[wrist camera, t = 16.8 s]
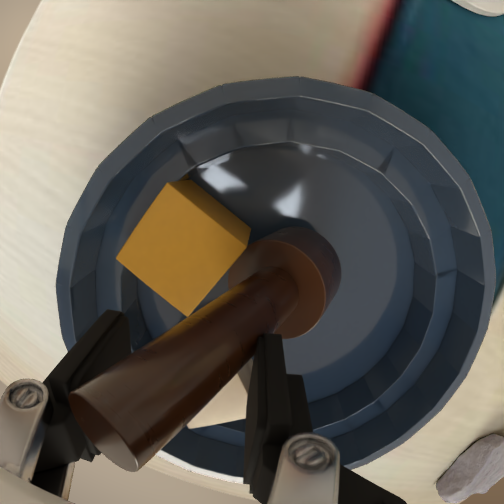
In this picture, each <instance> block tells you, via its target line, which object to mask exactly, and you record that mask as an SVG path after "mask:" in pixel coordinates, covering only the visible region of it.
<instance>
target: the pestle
mask: <svg viewBox="0 0 504 504" xmlns="http://www.w3.org/2000/svg"><path fill="white" fill-rule="evenodd" d="M340 282H341V265H340V261H339V258H338V255H337V253H336V251H335V250H334V248H333V246H332V245H331V244H330V243H329V242H328V241H327V240H326V239H325V238H324V237H323V236H321V235H320V234H319V233H317V232H315V231H313V230H310V229H308V228H303V227H287V228H283V229H280V230H278V231H276V232H274V233H272V234H270V235H268V236H266V237H264V238H261V239H259V240H257V241H255V242H253V243H251V244H249V245H247V248H246V249H245V250H244V252H243V253H242V254H241V255H240V256H239V257H238V259H237V260H236V261H235V262H234V263H233V264H232V266H231V267H230V271H229V276H228V288H229V290H228V291H227V292H225V293H224V294H222V295H221V296H219V297H218V298H216V299H215V300H213V301H212V302H210V303H209V304H207V305H206V306H204V307H203V308H201V309H200V310H198V311H196V312H195V313H193V314H192V315H190V316H189V317H187V318H186V319H184V320H183V321H181V322H180V323H178V324H177V325H175V326H173V327H172V328H170V329H169V330H167V331H166V332H164V333H163V334H161V335H160V336H158V337H156V338H155V339H153V340H152V341H150V342H149V343H147V344H146V345H144V346H142V347H141V348H139V349H138V350H136V351H135V352H133V353H132V354H130V355H128V356H127V357H125V358H124V359H122V360H121V361H119V362H117V363H116V364H114V365H113V366H111V367H110V368H108V369H106V370H105V371H103V372H102V373H100V374H98V375H97V376H95V377H94V378H92V379H90V380H89V381H87V382H86V383H84V384H82V385H81V386H79V387H78V388H76V389H74V390H73V391H71V392H70V394H69V396H68V400H69V404H70V408H71V410H72V413H73V415H74V417H75V419H76V421H77V422H78V424H79V426H80V427H81V429H82V430H83V432H84V433H85V434H86V436H87V437H88V438H89V439H90V441H91V442H92V443H93V444H94V445H95V446H96V447H97V449H98V450H99V451H100V452H101V453H103V454H104V455H105V456H106V457H107V458H108V459H109V460H111V461H112V462H113V463H115V464H116V465H118V466H119V467H121V468H123V469H125V470H127V471H130V472H136V471H138V470H139V469H140V468H141V467H142V466H144V465H145V464H146V463H147V462H148V461H149V460H150V459H151V458H152V457H153V456H154V455H156V454H157V453H158V452H159V451H160V450H161V449H162V448H163V447H164V446H165V445H166V444H167V443H168V442H169V441H170V440H171V439H173V438H174V437H175V436H176V435H177V434H178V433H179V432H180V431H181V430H182V429H183V428H184V427H185V426H186V425H187V424H188V423H189V422H190V421H191V420H192V419H193V418H194V417H195V416H196V415H197V414H198V413H199V412H200V411H201V410H202V409H203V408H204V407H205V406H206V405H207V404H208V403H209V402H210V401H211V400H212V399H213V398H214V397H215V396H216V395H217V394H218V393H219V392H220V391H221V390H222V389H223V388H224V387H225V386H226V384H227V383H228V382H229V381H230V380H231V379H232V378H233V377H234V376H235V375H236V374H237V373H238V372H239V371H240V370H241V369H242V368H243V366H244V365H245V364H246V363H247V362H248V361H249V360H250V359H251V358H252V357H253V356H254V355H255V352H256V346H257V339H258V337H263V336H264V333H272V334H281V335H282V339H291V338H296V337H299V336H302V335H304V334H306V333H307V332H309V331H310V330H312V329H313V328H314V327H315V326H316V325H317V323H318V322H319V321H320V319H321V317H322V316H323V314H324V313H325V311H326V310H327V308H328V306H329V305H330V303H331V301H332V300H333V298H334V297H335V295H336V293H337V291H338V289H339V286H340Z"/></svg>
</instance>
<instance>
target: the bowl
mask: <svg viewBox="0 0 504 504" xmlns="http://www.w3.org/2000/svg"><path fill="white" fill-rule="evenodd" d="M469 177H470V176H469V175H468V173H467V172H466V171H465V170H464V168H463V167H462V166H461V164H460V163H459V162H458V161H457V159H456V158H455V157H454V156H453V154H452V153H451V152H450V151H449V150H448V148H447V147H446V146H445V145H444V144H443V142H442V141H441V140H440V139H439V138H438V137H437V136H436V134H435V133H434V132H433V131H432V130H430V128H428V127H427V126H425V125H424V124H422V123H421V122H419V121H418V120H416V119H415V118H413V117H412V116H410V115H409V114H407V113H405V112H404V111H402V110H401V109H399V108H397V107H396V106H394V105H392V104H391V103H389V102H387V101H386V100H384V99H382V98H381V97H379V96H377V95H375V94H372V93H371V92H367V91H364V90H360V89H356V88H352V87H348V86H344V85H340V84H336V83H331V82H327V81H322V80H317V79H312V78H307V77H299V76H293V77H279V78H267V79H258V80H249V81H240V82H233V83H226V84H222V86H221V85H219V86H216V87H214V88H211V89H209V90H207V91H204V92H202V93H200V94H197V95H195V96H193V97H191V98H188V99H186V100H184V101H182V102H180V103H178V104H175V105H173V106H171V107H169V108H167V109H165V110H163V111H161V112H159V113H157V114H155V115H153V116H152V118H151V117H150V118H148V119H147V120H146V121H145V122H144V123H143V124H142V125H140V126H139V127H138V128H137V129H136V130H135V131H134V132H133V133H132V134H130V135H129V136H128V137H127V138H126V139H125V140H124V141H123V142H122V143H121V144H120V145H119V146H118V147H117V148H116V149H115V150H114V151H112V152H111V153H110V154H109V155H108V156H107V157H106V158H105V159H104V160H103V161H102V162H101V163H100V164H99V166H98V168H97V169H96V170H95V172H94V174H93V175H92V177H91V179H90V181H89V182H88V184H87V186H86V188H85V190H84V191H83V193H82V195H81V197H80V199H79V201H78V203H77V205H76V206H75V208H74V210H73V212H72V214H71V216H70V218H69V220H68V222H67V226H66V228H65V233H64V238H63V243H62V248H61V254H60V259H59V265H58V271H57V278H56V294H57V303H58V312H59V319H60V327H61V333H62V338H63V341H64V343H65V346H66V348H67V351H68V352H69V351H70V349H71V348H72V347H73V346H74V345H75V344H76V343H77V342H78V341H79V340H80V339H81V338H82V336H83V335H84V334H85V333H86V332H87V331H88V330H89V328H90V327H91V326H92V325H93V324H94V323H95V322H96V321H97V319H98V318H99V317H100V316H101V315H102V314H103V313H104V312H105V311H106V310H107V309H110V310H115V311H121V312H123V313H124V315H125V317H128V318H129V327H130V342H131V354H132V353H133V352H135V351H136V350H138V349H139V348H141V347H142V346H144V345H146V344H147V343H149V342H150V341H152V340H153V339H155V338H156V337H158V336H160V335H161V334H163V333H164V332H166V331H167V330H169V329H170V328H172V327H173V326H175V325H177V324H178V323H180V322H181V321H183V320H184V319H186V318H187V316H186V315H184V314H183V313H182V312H180V311H179V310H178V309H177V308H175V307H174V306H173V305H171V304H170V303H169V302H168V301H166V300H165V299H164V298H163V297H161V296H160V295H159V294H158V293H156V292H155V291H154V290H153V289H151V288H150V287H149V286H148V285H146V284H145V283H144V282H143V281H142V280H140V279H139V278H138V277H137V276H136V275H134V274H133V273H132V272H131V271H130V270H128V269H127V268H126V267H125V266H124V265H123V264H121V263H120V262H119V261H118V260H117V259H116V257H117V255H118V253H119V252H120V250H121V249H122V247H123V246H124V244H125V242H126V241H127V239H128V238H129V236H130V235H131V233H132V232H133V230H134V229H135V227H136V226H137V224H138V223H139V221H140V220H141V219H142V217H143V216H144V214H145V213H146V211H147V210H148V208H149V207H150V206H151V204H152V203H153V201H154V200H155V198H156V197H157V196H158V194H159V193H160V192H161V190H162V189H163V187H164V186H165V185H166V183H168V182H175V181H183V180H192V181H193V182H195V183H196V184H197V185H198V186H200V187H201V188H202V189H203V190H205V191H206V192H207V193H208V194H209V195H211V196H212V197H213V198H214V199H216V200H217V201H218V202H219V203H221V204H222V205H223V206H224V207H226V208H227V209H228V210H229V211H230V212H232V213H233V214H234V215H235V216H237V217H238V218H239V219H240V220H242V221H243V222H244V223H245V224H246V225H248V226H249V227H250V228H251V232H250V236H249V240H248V244H247V245H249V244H251V243H253V242H255V241H257V240H259V239H261V238H264V237H266V236H268V235H270V234H272V233H274V232H276V231H278V230H280V229H283V228H287V227H303V228H308V229H310V230H313V231H315V232H317V233H319V234H320V235H321V236H323V237H324V238H325V239H326V240H327V241H328V242H329V243H330V244H331V245H332V246H333V248H334V250H335V251H336V253H337V255H338V258H339V261H340V265H341V282H340V286H339V289H338V291H337V293H336V295H335V297H334V298H333V300H332V301H331V303H330V305H329V306H328V308H327V310H326V311H325V313H324V314H323V316H322V317H321V319H320V321H319V322H318V323H317V325H316V326H315V327H314V328H313V329H312V330H310V331H309V332H307V333H306V334H304V335H302V336H299V337H296V338H291V339H282V342H283V350H284V358H285V366H286V373H287V374H297V375H302V377H303V380H304V386H305V391H306V396H307V402H308V407H309V412H310V418H311V423H312V429H313V432H314V433H318V434H321V435H324V436H325V437H327V438H329V439H330V440H332V441H333V442H334V443H335V444H336V446H337V447H338V449H339V453H340V464H341V465H343V466H344V467H346V468H348V469H349V470H352V469H355V468H358V467H360V466H363V465H365V464H368V463H370V462H372V461H373V460H375V459H377V458H379V457H381V456H383V455H384V454H386V453H388V452H390V451H391V450H393V449H395V448H396V447H398V446H400V445H401V444H403V443H404V442H405V441H407V440H408V439H409V438H410V437H412V436H413V435H414V434H415V433H416V432H418V431H419V430H420V429H421V428H422V427H423V426H424V425H426V424H427V423H428V422H429V421H430V420H431V419H432V418H433V417H434V416H436V415H437V414H438V413H439V412H440V411H441V410H442V409H443V407H444V406H445V405H446V403H447V402H448V401H449V400H450V398H451V397H452V396H453V394H454V393H455V392H456V390H457V389H458V388H459V386H460V385H461V383H462V382H463V381H464V379H465V378H466V376H467V374H468V372H469V370H470V368H471V366H472V364H473V362H474V360H475V358H476V355H477V353H478V351H479V349H480V346H481V344H482V342H483V339H484V337H485V334H486V331H487V329H488V325H489V320H490V315H491V309H492V304H493V298H494V291H495V284H496V274H495V260H494V249H493V240H492V232H491V229H490V226H489V223H488V220H487V217H486V215H485V212H484V210H483V207H482V204H481V202H480V199H479V197H478V195H477V192H476V190H475V187H474V185H473V183H472V181H471V179H470V178H469ZM229 271H230V268H229V269H228V270H227V272H226V273H225V274H224V275H223V276H222V277H221V279H220V280H219V281H218V282H217V283H216V285H215V286H214V287H213V288H212V289H211V290H210V292H209V293H208V294H207V295H206V296H205V298H204V299H203V300H202V301H201V302H200V303H199V305H198V306H197V307H196V308H195V309H194V311H193V312H192V313H191V314H190V315H192V314H193V313H195V312H196V311H198V310H200V309H201V308H203V307H204V306H206V305H207V304H209V303H210V302H212V301H213V300H215V299H216V298H218V297H219V296H221V295H222V294H224V293H225V292H227V291H228V290H229V288H228V276H229ZM190 315H189V316H190ZM189 316H188V317H189ZM253 360H254V356H253V357H252V361H253ZM245 427H246V418H244V419H240V420H235V421H230V422H225V423H220V424H215V425H210V426H204V427H198V428H192V429H189V428H188V426H187V425H186V426H185V427H184V428H183V429H182V430H181V431H180V432H179V433H178V434H177V435H176V436H175V437H174V438H173V439H171V440H170V441H169V442H168V443H167V444H166V445H165V446H164V447H163V448H162V449H161V450H160V451H159V452H158V453H157V454H156V456H158V457H160V458H162V459H164V460H166V461H168V462H170V463H172V464H174V465H177V466H179V467H181V468H183V469H185V470H187V471H190V472H194V473H197V474H201V475H204V476H208V477H212V478H216V479H220V480H224V481H228V482H233V483H243V472H244V450H245Z"/></svg>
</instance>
